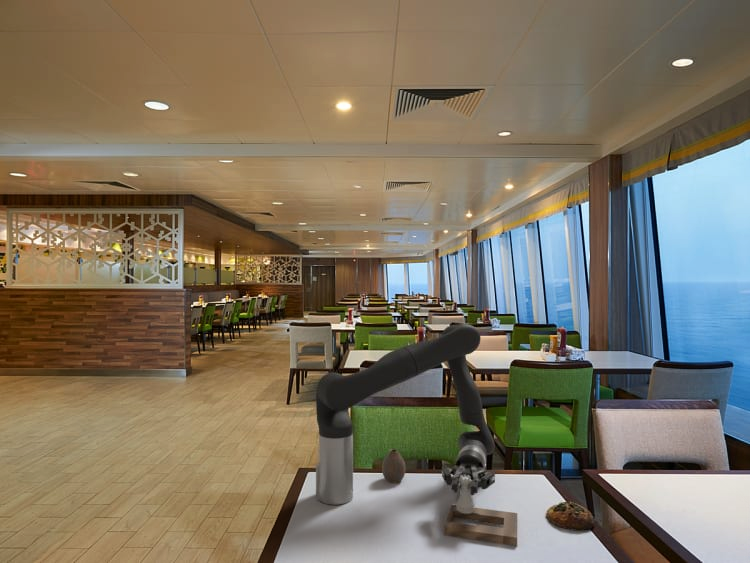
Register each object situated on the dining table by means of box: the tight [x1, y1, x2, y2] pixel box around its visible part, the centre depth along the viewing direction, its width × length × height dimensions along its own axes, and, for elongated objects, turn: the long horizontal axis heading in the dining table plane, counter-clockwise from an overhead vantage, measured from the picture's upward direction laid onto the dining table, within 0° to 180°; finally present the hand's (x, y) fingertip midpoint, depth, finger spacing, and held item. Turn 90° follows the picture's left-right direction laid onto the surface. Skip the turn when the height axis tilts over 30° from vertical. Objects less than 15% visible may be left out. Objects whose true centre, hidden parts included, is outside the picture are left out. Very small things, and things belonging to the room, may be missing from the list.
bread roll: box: [545, 501, 595, 532], centre depth 115 cm, size 11×11×5 cm
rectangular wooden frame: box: [443, 504, 518, 547], centre depth 111 cm, size 16×12×2 cm
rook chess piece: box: [455, 475, 476, 514], centre depth 113 cm, size 4×4×8 cm
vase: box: [381, 448, 406, 484], centre depth 139 cm, size 7×7×9 cm
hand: (464, 489), depth 110 cm, fingers closed on rook chess piece, 3 cm apart
